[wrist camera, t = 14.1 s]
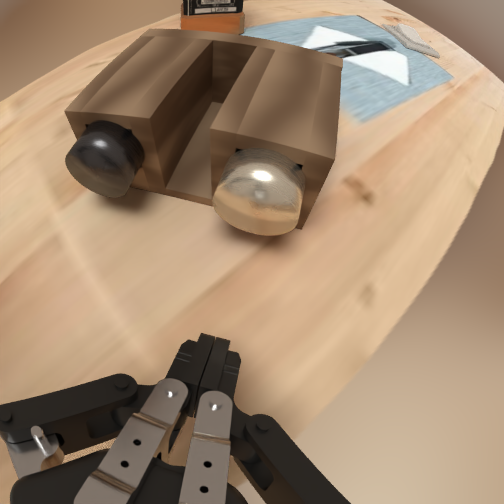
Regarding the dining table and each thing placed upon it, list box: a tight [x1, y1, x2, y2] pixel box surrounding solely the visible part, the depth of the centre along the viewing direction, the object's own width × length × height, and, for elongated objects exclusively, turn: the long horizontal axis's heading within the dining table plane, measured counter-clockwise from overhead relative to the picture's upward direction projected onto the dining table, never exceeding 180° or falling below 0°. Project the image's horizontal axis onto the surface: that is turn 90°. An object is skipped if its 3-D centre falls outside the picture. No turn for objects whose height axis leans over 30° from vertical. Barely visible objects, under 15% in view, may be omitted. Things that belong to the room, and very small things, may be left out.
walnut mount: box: [65, 29, 343, 229], centre depth 24 cm, size 20×14×9 cm
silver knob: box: [212, 148, 305, 236], centre depth 22 cm, size 6×15×6 cm, turn 166°
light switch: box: [381, 24, 440, 58], centre depth 49 cm, size 11×4×13 cm
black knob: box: [65, 120, 145, 198], centre depth 22 cm, size 6×15×6 cm, turn 166°
